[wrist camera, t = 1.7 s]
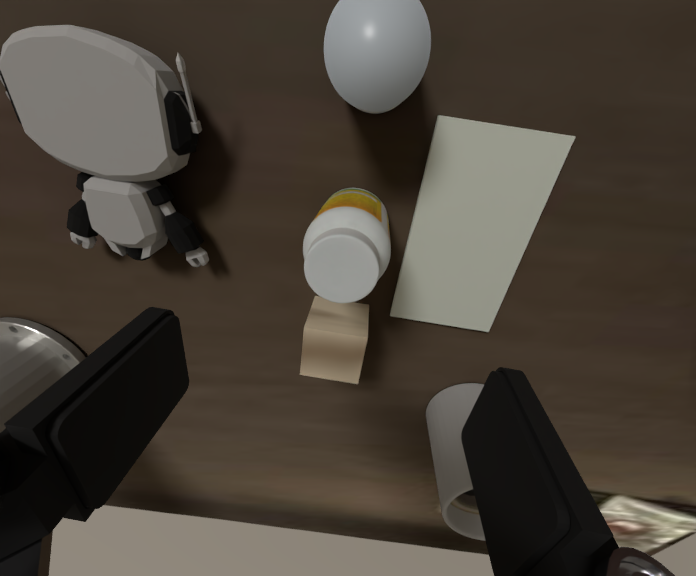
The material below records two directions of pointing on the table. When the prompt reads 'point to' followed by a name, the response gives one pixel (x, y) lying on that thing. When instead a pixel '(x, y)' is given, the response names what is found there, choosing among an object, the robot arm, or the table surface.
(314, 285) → the supplement bottle
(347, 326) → the birch block
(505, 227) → the sage mat
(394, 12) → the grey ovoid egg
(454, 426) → the mug
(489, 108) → the table surface
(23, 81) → the robot toy
